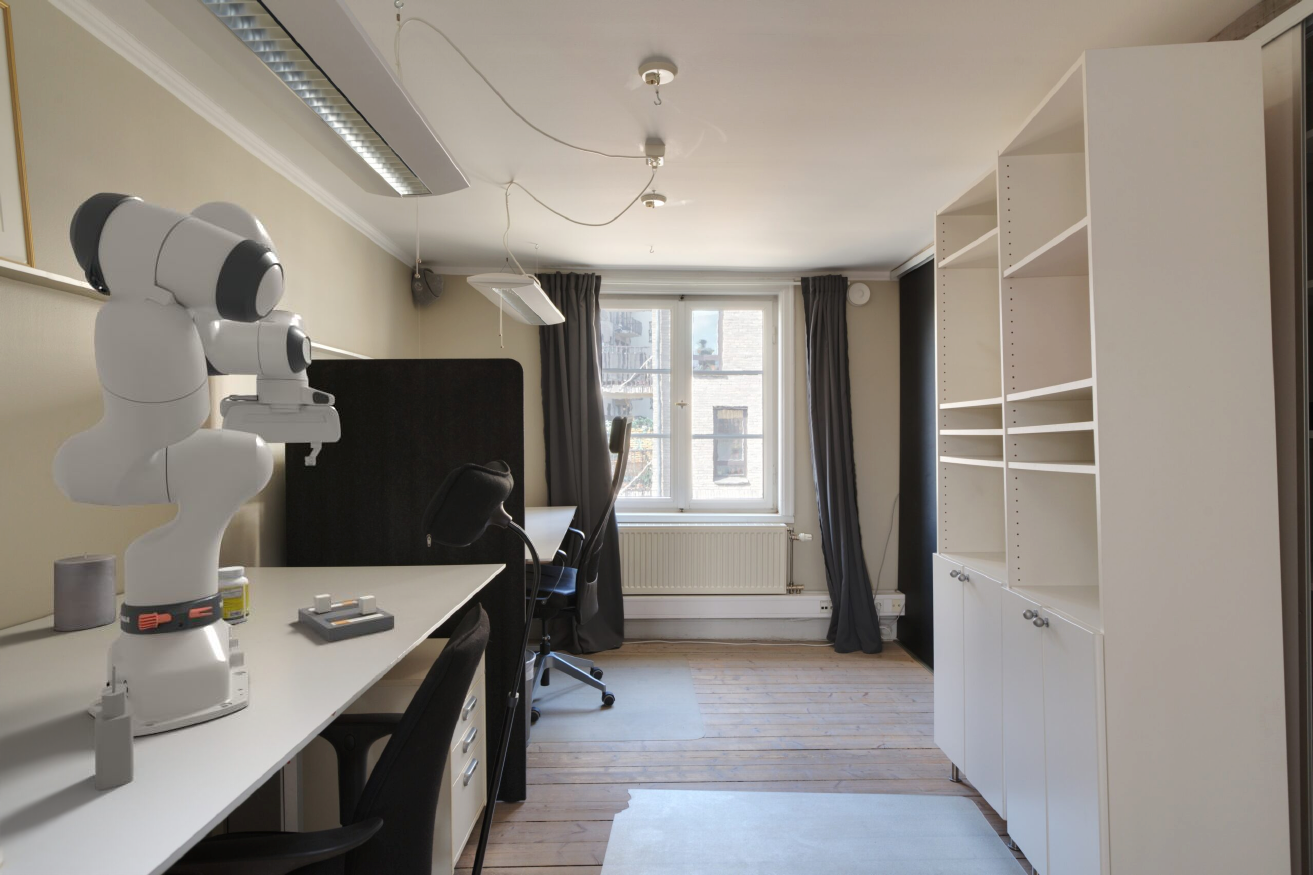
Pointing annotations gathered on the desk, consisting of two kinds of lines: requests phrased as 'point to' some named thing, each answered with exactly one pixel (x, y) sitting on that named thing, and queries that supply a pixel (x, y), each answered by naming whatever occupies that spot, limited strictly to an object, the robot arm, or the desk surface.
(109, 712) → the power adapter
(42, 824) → the desk surface
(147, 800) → the desk surface
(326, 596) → the rear slider
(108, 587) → the pillar candle
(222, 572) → the pill bottle
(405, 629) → the desk surface
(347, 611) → the switch housing
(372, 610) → the front slider
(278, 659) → the desk surface
